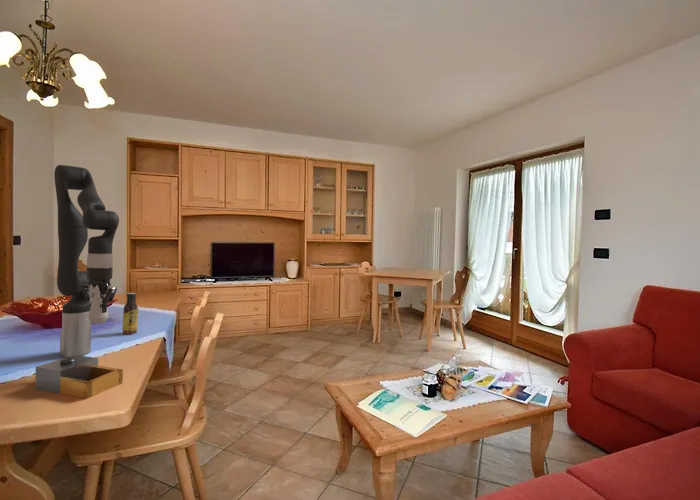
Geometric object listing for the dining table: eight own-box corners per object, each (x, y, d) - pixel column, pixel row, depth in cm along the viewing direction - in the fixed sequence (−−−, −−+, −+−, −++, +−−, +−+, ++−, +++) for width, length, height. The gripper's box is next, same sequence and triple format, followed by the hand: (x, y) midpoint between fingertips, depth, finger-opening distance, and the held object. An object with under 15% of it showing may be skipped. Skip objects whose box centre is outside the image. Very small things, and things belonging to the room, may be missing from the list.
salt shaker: (95, 320, 126) (96, 284, 125) (111, 320, 126) (112, 285, 126) (84, 324, 120) (85, 287, 120) (101, 324, 120) (102, 287, 120)
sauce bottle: (130, 335, 165) (130, 294, 165) (119, 334, 166) (119, 293, 166) (140, 332, 172) (141, 292, 171) (130, 330, 173) (131, 291, 172)
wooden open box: (25, 387, 108) (26, 362, 108) (65, 373, 119) (66, 350, 119) (87, 398, 102) (87, 372, 102) (122, 382, 114) (123, 359, 113)
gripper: (73, 265, 120) (72, 313, 121) (105, 268, 117) (104, 318, 118) (94, 264, 128) (93, 309, 128) (125, 266, 124) (123, 313, 125)
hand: (98, 313), depth 123 cm, fingers closed on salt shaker, 3 cm apart
